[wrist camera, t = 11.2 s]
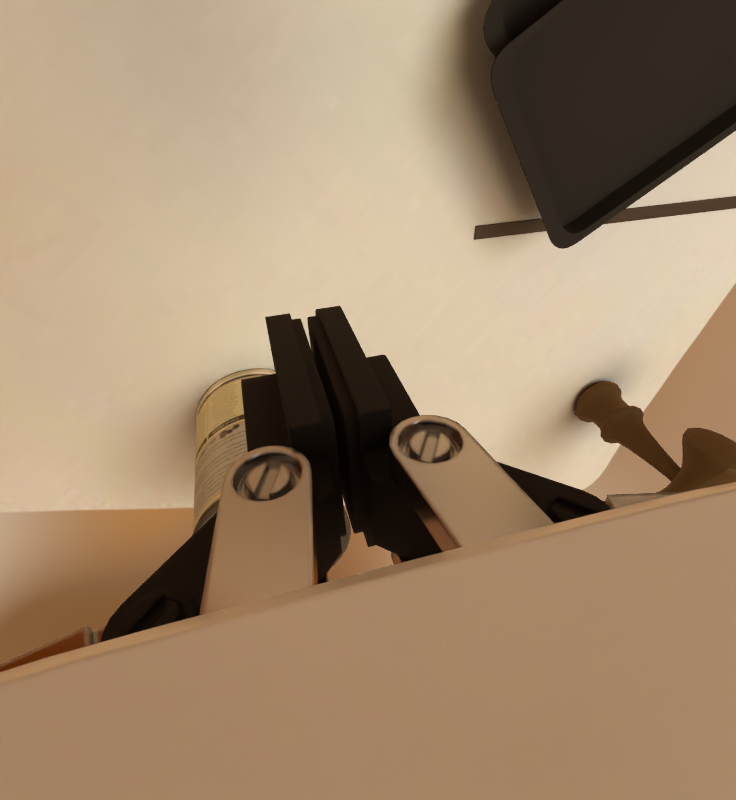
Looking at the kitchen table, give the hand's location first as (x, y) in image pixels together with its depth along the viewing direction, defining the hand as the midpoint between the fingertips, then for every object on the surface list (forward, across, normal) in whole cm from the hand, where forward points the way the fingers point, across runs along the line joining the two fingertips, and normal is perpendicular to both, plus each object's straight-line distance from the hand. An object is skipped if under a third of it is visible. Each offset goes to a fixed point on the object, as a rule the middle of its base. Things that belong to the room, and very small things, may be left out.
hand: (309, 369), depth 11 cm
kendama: (+26, -32, +26) cm, 49 cm away
